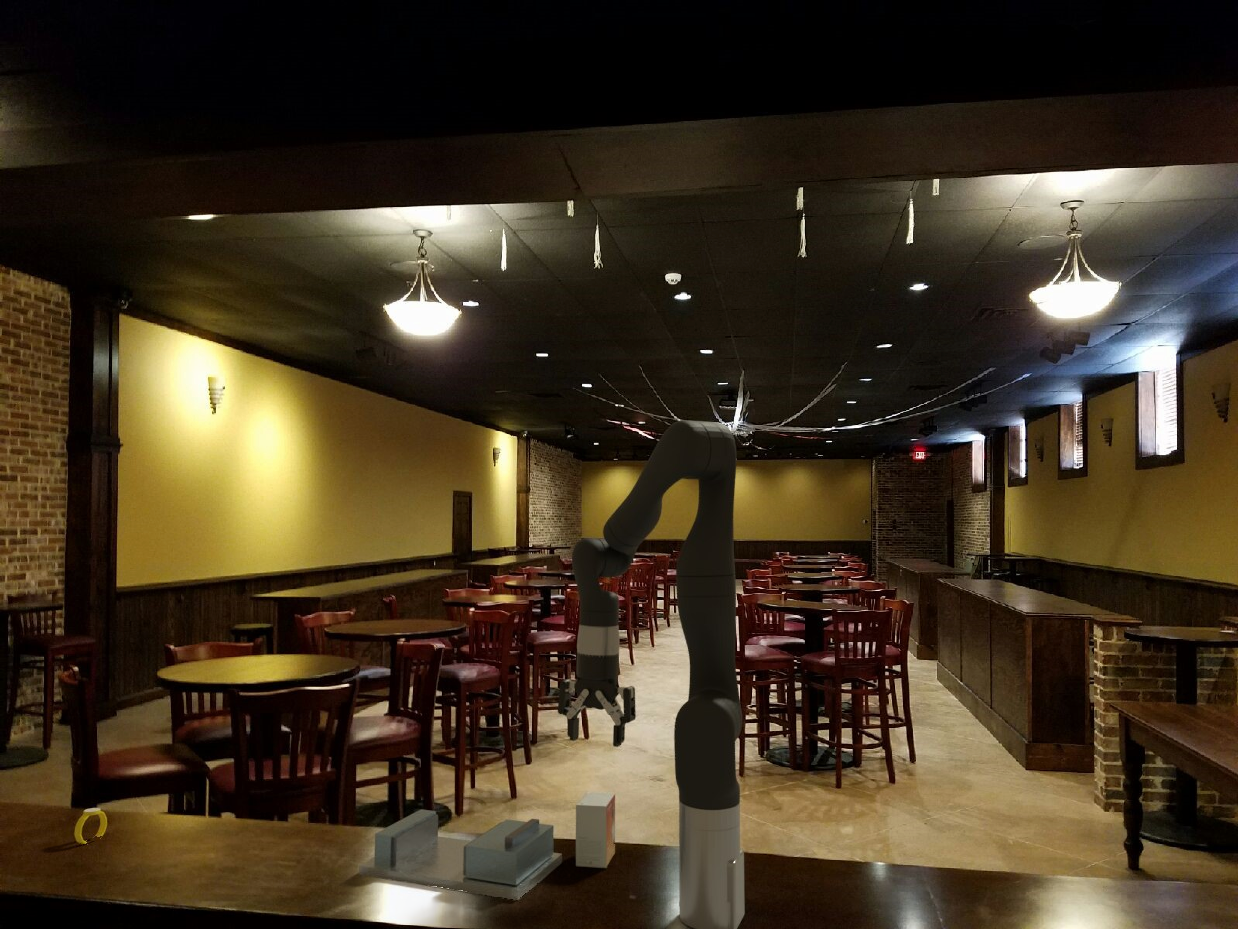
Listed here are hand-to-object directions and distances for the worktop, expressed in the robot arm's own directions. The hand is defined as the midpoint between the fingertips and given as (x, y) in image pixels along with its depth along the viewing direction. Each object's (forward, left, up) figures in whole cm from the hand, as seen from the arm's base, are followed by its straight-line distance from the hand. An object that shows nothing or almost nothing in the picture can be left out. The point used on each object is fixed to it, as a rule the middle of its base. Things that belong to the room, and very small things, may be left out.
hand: (595, 742), depth 155 cm
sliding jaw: (+11, +10, -19) cm, 24 cm away
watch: (+92, +23, -21) cm, 98 cm away
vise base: (+19, +10, -21) cm, 30 cm away
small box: (0, -2, -21) cm, 21 cm away
